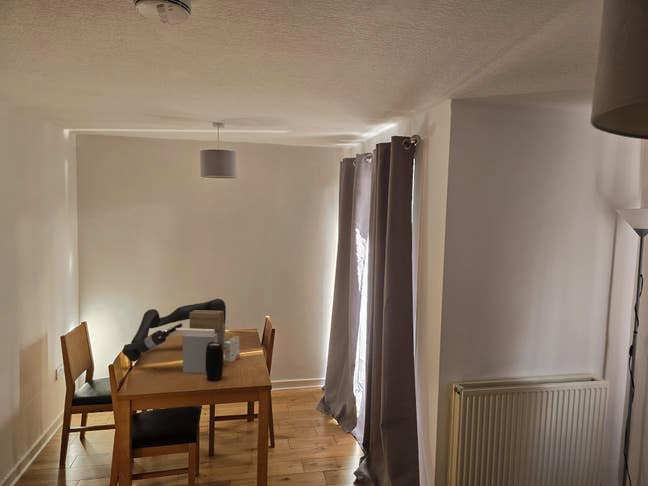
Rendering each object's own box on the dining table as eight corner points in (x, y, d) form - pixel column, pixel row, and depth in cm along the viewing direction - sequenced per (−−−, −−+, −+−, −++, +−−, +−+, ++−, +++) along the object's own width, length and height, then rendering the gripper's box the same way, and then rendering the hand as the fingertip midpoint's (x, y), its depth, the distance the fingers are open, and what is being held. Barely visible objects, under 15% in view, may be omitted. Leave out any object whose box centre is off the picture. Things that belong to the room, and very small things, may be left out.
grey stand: (187, 368, 252) (187, 332, 250) (217, 369, 250) (217, 333, 249) (183, 372, 245) (182, 335, 244) (213, 373, 243) (213, 336, 242)
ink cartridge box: (233, 357, 273) (233, 334, 272) (239, 358, 270) (239, 335, 269) (224, 360, 266) (224, 337, 265) (230, 362, 263) (229, 338, 262)
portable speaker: (205, 376, 238) (204, 342, 237) (222, 375, 241) (222, 340, 240) (206, 382, 230) (206, 346, 229) (224, 380, 233) (224, 344, 232)
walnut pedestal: (195, 361, 263) (194, 310, 261) (223, 363, 261) (223, 310, 259) (189, 366, 255) (189, 312, 253) (219, 367, 253) (219, 313, 251)
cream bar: (171, 333, 250) (171, 327, 249) (214, 334, 247) (214, 329, 247) (168, 334, 246) (168, 329, 246) (212, 336, 244) (212, 330, 244)
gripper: (146, 337, 242) (170, 323, 240) (157, 330, 256) (180, 318, 254) (152, 348, 242) (176, 335, 240) (164, 341, 256) (186, 329, 254)
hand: (178, 326), depth 247 cm, fingers open, 8 cm apart
